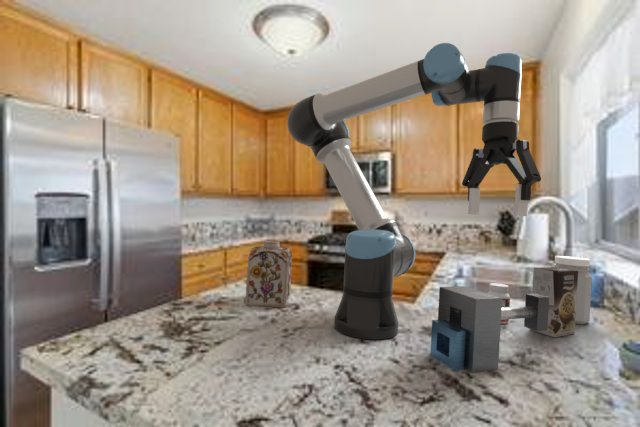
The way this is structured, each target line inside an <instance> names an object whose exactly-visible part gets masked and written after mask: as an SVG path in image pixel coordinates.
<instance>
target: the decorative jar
mask: <svg viewBox="0 0 640 427" xmlns="http://www.w3.org/2000/svg"><path fill="white" fill-rule="evenodd" d="M280 244H281V243H280V241H278V240H265V241H263V245H262V246H254V247H252V248H251V249H250V252H249V254H248V257H247V273H246V286H245V305H246V306H251V307H252V306H253V307H264V308H265V307H268V308H269V307H270V308H286V307H287V305H288V303H289V300H290V297H291V287H292V286H291V281H292V262H293V261H292V260H293V255H292V250H291V249H290V248H288V247H285V246H281V245H280Z"/></svg>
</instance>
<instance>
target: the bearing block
mask: <svg viewBox="0 0 640 427" xmlns="http://www.w3.org/2000/svg"><path fill="white" fill-rule="evenodd" d="M487 293H488V292H483V291H480V290H477V289H474V288H470V287H467V286H462V285H460V286H459V285H458V286H456V285H455V286H440V287H439V292H438V294H439V295H438V310H437V312H438V313H437V320H442V321H445V322H447V323H449V324H451V325H453V326H455V327H457V328H459V329H462V330H464V331H466V334H465V353H464V369H465V370H467V371H468V372H470V373H481V372H489V371H495V370H499V359H500V341H501V340H500V339H501V325H502V324H501V308H502V298H500V297H497V296H493V295H490V294H487ZM449 344H450V338H449V337H447V336H445V350H447V351H449Z"/></svg>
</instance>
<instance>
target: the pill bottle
mask: <svg viewBox="0 0 640 427" xmlns="http://www.w3.org/2000/svg"><path fill="white" fill-rule="evenodd" d="M488 289H489V291H488V292H486V293H487V294H490V295H493V296H497V297H500V298H502V307H511V296H510V294H509V293H508V291H509V285H507V284H503V283H495V282H491V283H489V286H488ZM509 322H510V319H507V320H501V325H502V324H503V325H506V324H508V323H509Z"/></svg>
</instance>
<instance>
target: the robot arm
mask: <svg viewBox="0 0 640 427" xmlns="http://www.w3.org/2000/svg"><path fill="white" fill-rule="evenodd" d="M522 63H523V62H522V58H521V57H520V56H519V55H518V54H516V53H512V52H504V53H503V52H502V53H499V54H497V55H493V56H491V57H489V58H487V60H486V62H485V66H484V67H483V68H478V69H472V70H469V69H468V66H467V64H466V59H465V57H464V56H463V54H462V53H461V51H460V50H459V48H458V47H457V46H456V45H454V44H453V43H449V42H441V43H438V44H436V45H434V46H433V47H432V48H431V49H430V50H428V52H427V53H426V54H425V56H424V58H422V59H420V60H417V61H414V62H412V63H409V64H407V65H406V64H405V65H403V66H401V67H397V68H396V69H392V70H390V71H386V72H385V73H383V74H379V75H376V76H374V77H371V78H368V79H366V80H363V81H360V82H358V83H355V84H352V85H349V86H346V87H344V88H341V89H339V90H335V91H333V92H331V93H328V94H322V93H315V94H312V95H310V96H308V97H306V98H304V99H301V100H300V101H299V102H297V103H296V104H294V105H293V106H292V108H291V109H290V111H289V113H288V116H287V121H286V124H287V125H286V126H287V129H288V132H289V134H290V136H291V138H292V139H293V140H294V141H296V142H297V143H298V144H299V143H300V144H302V145H304V146H306V147H309V148H310V149H311V150H312V153H313V154H314V155H313V156H314V157H315V159H316V161H317V162H318V163H320V164H324V165H325V167H326V169H327V171H328V173H329V175H330V177H331V178H332V181H333V183H334V186H336V188H337V190H338V192H339V195H340V196H341V198H342V201H343V203H344V204H345V206H346V208H347V210H348V212H349V215H350V216H351V218H352V220H353V222H354V223H355V225H356V226H355V227H356V228H357V229H358V230H353V231H351V232H349V233H348V234H347V237H346V239H345V246H344V268H343V270H344V274H343V290H342V291H343V292H342V296H341V299H340V302H339V304H338V307H337V309H336V313H335V315H334V322H333V323H334V324H333V327H334V329H335V330H336V331H337V332H339V333H341V334H343V335H346V336H347V337H352V338H356V339H361V340H386V339H391V338H394V337H395V336H397V335H398V334H399V320H398V316H397V312H396V309H395V305H394V301H393V290H394V287H393V286H394V278H398V277H400V276H401V275H404V274H406V273H407V272H408V271H409V270H410V269H411V268H412V266H413V265H414V263H415V259H416V248H415V245H414V243H413V242H412V240H411V239H410V238H409V237H408V236H407V235H405V234H403V233H402V230H401V229H400V227H399V226H398V224H397V222H396V220H393V219H390V218H388V217H387V216H386V214H385V212H384V210H383V208H382V206H381V204H380V202H379V200H378V199H377V197H376V195H375V193H374V192H373V190H372V188H371V186H370V184H369V182H368V180H367V179H366V176H365V174H364V173H363V171H362V170H361V168H360V165H359V163H358V162H357V160H356V159H355V156H354V155H353V153H352V151H351V148H352V144H353V143H352V140H351V138H350V129H349V127H348V124H347V123H346V121H347V120H351V119H354V118H357V117H360V116H362V115H367V114H370V113H372V112H375V111H379V110H381V109H384V108H387V107H391V106H394V105H396V104H400V103H404V102H406V101H410V100H413V99H417V98H419V97H422V96H425V95H429V94H431V99H432V103H433V104H434V105H435V106H438V107H440V106H444V107H446V106H447V107H449V106H454V105H462V104H471V103H472V104H473V103H479V102H481V103H482V102H483V114H482V124H483V126H482V133H481V141H482V142H483V143H484V145H483V147H482V148H477V147H475V148H473V151H472V155H471V160H470V162H469V164H468V167H467V170H466V172H465V174H464V177H463V179H462V182H461V185H462V186H464V187H465V188H467V201H468V211H467V212H468V213H467V214H468V215H480V201H481V188H480V187H479V186H480V185H481V183H482V181H483V180H484V179H485V178H486V176H487V174H488V172H489V171H490V170H491V169H492V168H494V167H495V166H499V165H501V164H502V165H506V166H507V168H508V169H509V170H510V172H511V173H512V174H513V176H514V178H516V180H517V181H518V183H517V184H516V186H515V200H514V216H516V217H528V207H529V206H528V204H529V203H528V202H529V201H530V200H531V198H532V197H531V196H532V194H531V193H532V186H533V184H535V183H539V182H541V180H542V177H541V174H540V172H539V169H538V167H537V165H536V163H535V161H534V158H533V156H532V153H531V151H530V142H529V140H525V139H520V138H519V129H520V128H519V124H518V122H519V121H520V108H521V107H520V105H521V88H522V67H523V66H522ZM515 153H516V154H517V156H516V155H515Z"/></svg>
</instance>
